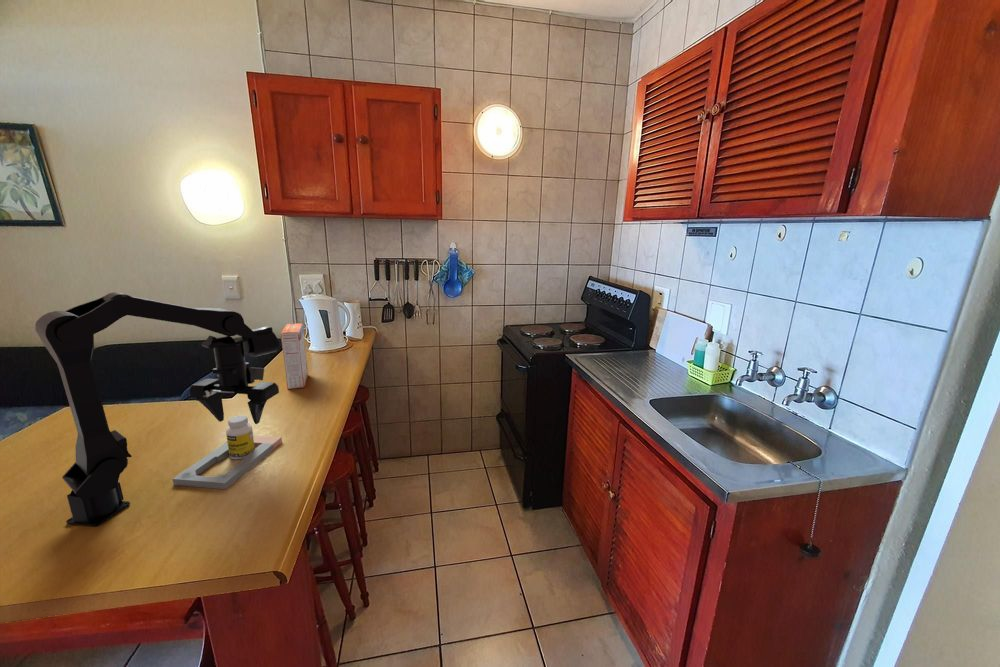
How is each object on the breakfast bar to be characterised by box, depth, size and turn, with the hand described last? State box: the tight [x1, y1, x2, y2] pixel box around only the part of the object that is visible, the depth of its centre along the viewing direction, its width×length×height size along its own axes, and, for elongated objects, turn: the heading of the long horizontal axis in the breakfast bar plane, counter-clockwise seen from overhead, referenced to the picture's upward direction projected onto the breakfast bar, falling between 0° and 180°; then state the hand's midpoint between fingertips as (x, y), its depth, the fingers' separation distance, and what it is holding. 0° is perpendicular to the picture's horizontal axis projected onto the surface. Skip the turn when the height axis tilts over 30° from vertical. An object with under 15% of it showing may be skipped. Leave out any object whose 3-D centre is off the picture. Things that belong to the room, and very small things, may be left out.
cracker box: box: [280, 322, 309, 390], centre depth 143 cm, size 14×6×21 cm, turn 20°
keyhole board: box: [172, 434, 283, 490], centre depth 95 cm, size 20×12×2 cm, turn 176°
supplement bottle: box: [225, 414, 255, 460], centre depth 97 cm, size 5×5×10 cm
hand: (239, 422), depth 96 cm, fingers open, 9 cm apart
